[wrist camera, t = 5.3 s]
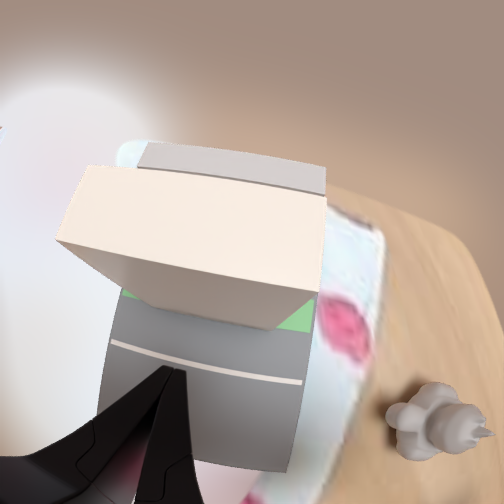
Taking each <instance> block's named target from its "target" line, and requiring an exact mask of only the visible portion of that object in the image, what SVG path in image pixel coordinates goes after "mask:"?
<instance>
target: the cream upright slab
mask: <svg viewBox="0 0 504 504" xmlns="http://www.w3.org/2000/svg"><path fill="white" fill-rule="evenodd" d="M326 203H327V197H322V196H318V195H313V194H308V193H303V192H298V191H293V190H287V189H282V188H277V187H271V186H265V185H260V184H254V183H248V182H242V181H235V180H229V179H222V178H215V177H208V176H200V175H193V174H185V173H176V172H168V171H158V170H148V169H138V168H126V167H113V166H97V165H88V167H87V169H86V170H85V172H84V174H83V177H82V178H81V180H80V183H79V184H78V186H77V189H76V191H75V193H74V195H73V197H72V199H71V202H70V204H69V206H68V208H67V211H66V213H65V216H64V218H63V220H62V222H61V225H60V227H59V230H58V232H57V235H56V238H55V240H56V241H58V242H59V243H60V244H61V245H63V246H64V247H66V248H67V249H68V250H69V251H71V252H72V253H73V254H75V255H76V256H77V257H79V258H80V259H82V260H83V261H84V262H86V263H87V264H88V265H90V266H91V267H93V268H94V269H95V270H97V271H98V272H100V273H101V274H103V275H104V276H106V277H107V278H108V279H110V280H111V281H113V282H114V283H116V284H117V285H119V286H121V287H122V288H123V289H125V290H126V291H128V292H130V293H131V294H133V295H134V296H136V297H137V298H139V299H141V300H142V301H144V302H145V303H147V304H149V305H150V306H152V307H155V308H159V309H163V310H167V311H171V312H176V313H180V314H185V315H189V316H194V317H198V318H203V319H208V320H213V321H217V322H223V323H228V324H233V325H238V326H244V327H249V328H255V329H261V330H267V331H272V330H273V329H275V328H276V327H277V326H278V325H280V324H281V323H282V322H283V321H285V320H286V319H287V318H288V317H290V316H291V315H292V314H293V313H295V312H296V311H297V310H298V309H299V308H301V307H302V306H303V305H304V304H306V303H307V302H308V301H309V300H310V299H312V298H313V297H314V296H315V295H316V294H317V293H319V290H320V280H321V270H322V260H323V248H324V235H325V220H326Z"/></svg>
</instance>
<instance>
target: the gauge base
mask: <svg viewBox="0 0 504 504" xmlns="http://www.w3.org/2000/svg"><path fill="white" fill-rule="evenodd" d="M137 167H138V169H148V170H158V171H168V172H176V173H185V174H193V175H200V176H208V177H215V178H222V179H229V180H235V181H242V182H248V183H254V184H260V185H265V186H271V187H277V188H282V189H287V190H293V191H298V192H303V193H308V194H313V195H318V196H322V197H324V196H325V184H326V167H321V166H317V165H312V164H308V163H303V162H298V161H293V160H287V159H282V158H277V157H271V156H265V155H259V154H253V153H246V152H239V151H232V150H225V149H217V148H209V147H200V146H190V145H180V144H168V143H154V142H148V144H147V146H146V148H145V150H144V152H143V154H142V156H141V158H140V161H139V163H138V165H137ZM317 296H318V293H317V294H316V295H315V296H314V297H313V298H312V299H310V300H309V301H308V302H307V303H306V304H304V305H303V306H302V307H301V308H299V309H298V310H297V311H296V312H295V313H293V314H292V315H291V316H290V317H288V318H287V319H286V320H285V321H283V322H282V323H281V324H280V325H278V326H277V327H276V328H275V329H273V330H272V331H267V330H261V329H255V328H249V327H244V326H238V325H233V324H228V323H223V322H217V321H213V320H208V319H203V318H198V317H194V316H189V315H185V314H180V313H176V312H171V311H167V310H163V309H159V308H155V307H152V306H150V305H149V304H147V303H145V302H144V301H142V300H141V299H139V298H137V297H136V296H134V295H133V294H131V293H130V292H128V291H126V290H125V289H123V288H122V289H121V292H120V296H119V300H118V304H117V308H116V312H115V316H114V321H113V325H112V329H111V333H110V338H109V343H108V348H107V353H106V358H105V364H104V369H103V374H102V381H101V387H100V394H99V401H98V408H97V415H98V414H99V413H101V412H102V411H103V410H105V409H106V408H107V407H109V406H110V405H111V404H113V403H114V402H115V401H117V400H118V399H119V398H121V397H122V396H123V395H125V394H126V393H127V392H128V391H130V390H131V389H132V388H134V387H135V386H136V385H137V384H139V383H140V382H141V381H143V380H144V379H145V378H146V377H148V376H149V375H150V374H152V373H153V372H154V371H155V370H157V369H158V368H159V367H160V366H162V365H167V366H171V367H174V369H175V368H179V369H183V370H186V372H187V389H188V404H189V418H190V430H191V440H192V450H193V458H194V459H195V460H199V461H204V462H209V463H214V464H219V465H225V466H230V467H237V468H244V469H251V470H260V471H270V472H283V473H286V471H287V467H288V463H289V458H290V454H291V450H292V445H293V441H294V436H295V432H296V427H297V422H298V417H299V412H300V407H301V402H302V397H303V391H304V386H305V380H306V374H307V368H308V362H309V356H310V349H311V342H312V335H313V328H314V321H315V313H316V305H317Z"/></svg>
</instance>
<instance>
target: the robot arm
mask: <svg viewBox="0 0 504 504" xmlns="http://www.w3.org/2000/svg"><path fill="white" fill-rule="evenodd" d="M135 493H136V496H135ZM134 496H135V502H134V504H204V502H203V499H202V496H201V493H200V489H199V485H198V482H197V478H196V473H195V466H194V458H193V450H192V440H191V430H190V418H189V404H188V389H187V372H186V370H183V369H179V368H175V369H174V367H171V366H167V365H162V366H160V367H159V368H158V369H157V370H155V371H154V372H153V373H152V374H150V375H149V376H148V377H146V378H145V379H144V380H143V381H141V382H140V383H139V384H137V385H136V386H135V387H134V388H132V389H131V390H130V391H128V392H127V393H126V394H125V395H123V396H122V397H121V398H119V399H118V400H117V401H115V402H114V403H113V404H111V405H110V406H109V407H107V408H106V409H105V410H103V411H102V412H101V413H99V414H98V415H97V416H95V417H94V418H93V420H90V421H89V422H87V423H86V424H84V425H83V426H82V427H80V428H79V429H77V430H76V431H74V432H73V433H71V434H69V435H68V436H66V437H64V438H62V439H61V440H59V441H57V442H55V443H53V444H51V445H49V446H47V447H45V448H43V449H41V450H39V451H37V452H35V453H33V454H30V455H26V456H14V457H13V456H0V504H131V503H132V501H133V498H134Z"/></svg>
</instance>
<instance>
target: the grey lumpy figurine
mask: <svg viewBox="0 0 504 504" xmlns="http://www.w3.org/2000/svg"><path fill="white" fill-rule="evenodd" d="M385 419H386V421H387V423H388V425H390V426H391V427H393V428H395V429H396V438H397V445H396V449H397V452H398V453H399V454H400V455H401V456H402V457H404V458H405V459H407V460H413V461H425V460H428V459H430V458H432V457H433V456H434V455H436V454H437V453H439V452H446V453H449V454H460V453H462V452H465V451H466V450H468V449H471V448H474V447H475V446H476V445H477V443H478V442H479V440H480V438H481V437H488V436H493V435H496V434H494V433H493V432H491V431H490V430H488V429H485V428H484V426H485V421H486V418H485V417H484V416H483V415H482V413H481V411H480V410H479V408H478V407H476V406H475V405H472V404H463V403H462V402H461V401H459V399H458V396H457V393H456V391H455V389H454V388H453V387H451V386H450V385H447V384H444V383H440V382H433V383H427V384H425V385H423V386H422V387H421V388H420V389H419V391H418V393H417V394H415V395H414V396H413V397H412V398H411V399H410V400H409V401H408V403H402V402H401V403H396V404H393V405H392V406H390V407H389V408H388V410H387V412H386V415H385Z"/></svg>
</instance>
